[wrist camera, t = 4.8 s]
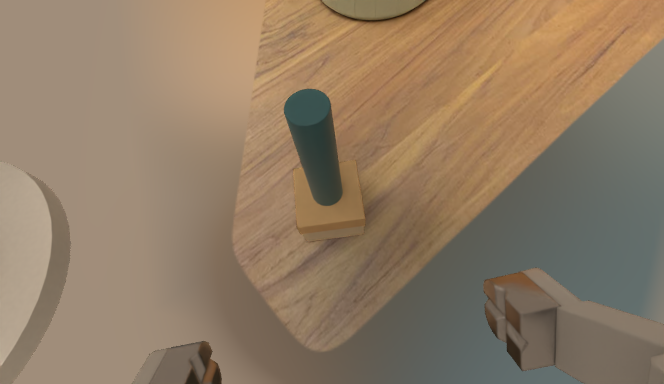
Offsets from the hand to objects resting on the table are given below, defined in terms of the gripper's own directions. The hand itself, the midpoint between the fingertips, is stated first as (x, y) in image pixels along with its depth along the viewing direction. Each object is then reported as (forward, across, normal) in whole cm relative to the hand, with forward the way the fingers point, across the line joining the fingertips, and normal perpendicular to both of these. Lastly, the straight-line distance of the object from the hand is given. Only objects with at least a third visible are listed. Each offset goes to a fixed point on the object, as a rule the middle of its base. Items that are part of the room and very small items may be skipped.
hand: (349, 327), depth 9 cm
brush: (+19, 0, +4) cm, 20 cm away
